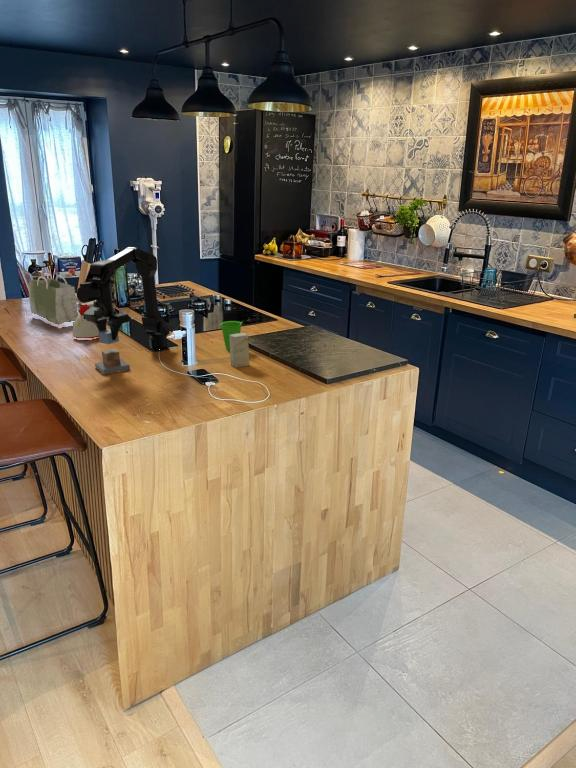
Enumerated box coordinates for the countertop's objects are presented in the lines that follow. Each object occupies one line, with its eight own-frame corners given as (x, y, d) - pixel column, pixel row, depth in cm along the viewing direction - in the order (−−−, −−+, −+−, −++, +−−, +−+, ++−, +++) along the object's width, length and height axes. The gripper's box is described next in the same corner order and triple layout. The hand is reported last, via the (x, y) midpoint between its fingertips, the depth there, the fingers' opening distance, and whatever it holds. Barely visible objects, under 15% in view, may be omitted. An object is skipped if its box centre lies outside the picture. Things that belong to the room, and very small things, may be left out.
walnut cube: (116, 361, 224) (114, 348, 223) (120, 364, 221) (119, 351, 219) (103, 363, 222) (101, 351, 220) (107, 366, 218) (105, 354, 216)
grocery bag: (85, 323, 289) (78, 276, 281) (58, 329, 280) (50, 280, 272) (57, 313, 310) (50, 270, 302) (31, 318, 301) (23, 273, 293)
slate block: (110, 339, 221) (108, 329, 220) (119, 341, 219) (117, 330, 217) (99, 342, 217) (98, 332, 216) (108, 344, 215) (107, 333, 214)
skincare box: (234, 368, 220) (233, 337, 216) (230, 364, 224) (228, 334, 220) (249, 365, 223) (248, 334, 219) (245, 362, 227) (243, 332, 222)
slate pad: (120, 363, 228) (120, 358, 228) (129, 369, 221) (129, 364, 220) (95, 368, 223) (94, 363, 222) (103, 375, 215) (103, 369, 215)
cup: (247, 347, 245) (245, 322, 241) (236, 353, 238) (235, 327, 234) (228, 345, 249) (227, 320, 245) (217, 351, 241) (215, 325, 237)
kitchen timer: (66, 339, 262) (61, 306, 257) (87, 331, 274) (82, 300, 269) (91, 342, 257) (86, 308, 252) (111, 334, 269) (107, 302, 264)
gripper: (68, 299, 211) (74, 341, 216) (104, 304, 202) (110, 347, 207) (93, 294, 220) (98, 334, 225) (128, 298, 210) (133, 340, 216)
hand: (109, 339), depth 218 cm, fingers closed on slate block, 5 cm apart
